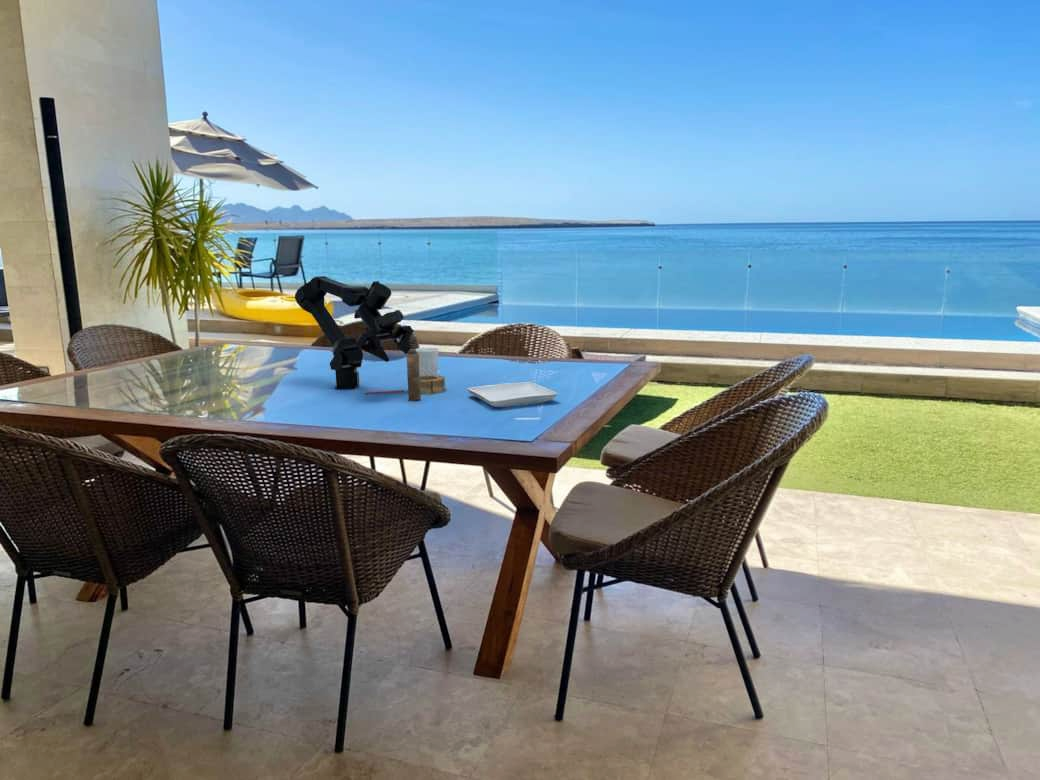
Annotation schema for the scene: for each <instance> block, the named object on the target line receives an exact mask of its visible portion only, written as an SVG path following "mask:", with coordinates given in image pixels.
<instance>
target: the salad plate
mask: <svg viewBox="0 0 1040 780" xmlns="http://www.w3.org/2000/svg"><path fill="white" fill-rule="evenodd" d="M467 391H468V392H469V393H470V394H471V395H472V396H474V397H476V398H478V399H479V400H481V401H483V402H485V403H487V404H488V405H490V406H492V407H495V408H499V407H502V408H511V406H513V407H520V406H519V405H522V406H527V405H526V404H530V405H535V404H534V403H539V404H542V403H541V402H543V403H545V402H549V401H552V400H554V399H555V398H556V397H558V396H559V393H558V392H557V391H554V390H551V389H549V388H547V387H544V386H542V385H539V384H537V383H534V382H531V381H523V382H522V381H520V382H508V383H498V384H489V385H482V386H480V385H479V386H473V387H467Z"/></svg>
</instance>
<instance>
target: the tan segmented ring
mask: <svg viewBox="0 0 1040 780" xmlns="http://www.w3.org/2000/svg"><path fill="white" fill-rule="evenodd" d="M445 390H446V381H445V376H443V375H439V374H438V375H424V376H423V375H420V393H421V395H435V394H441V393H443V391H444V392H445ZM440 392H441V393H440Z"/></svg>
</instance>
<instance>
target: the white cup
mask: <svg viewBox="0 0 1040 780" xmlns="http://www.w3.org/2000/svg"><path fill="white" fill-rule="evenodd" d="M414 349H415V350H416V352H417V353H419V370H420V375H423V376H424V375H439V372H438V371H439V348H437V347H418V348H414Z"/></svg>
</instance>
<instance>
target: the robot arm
mask: <svg viewBox="0 0 1040 780" xmlns="http://www.w3.org/2000/svg"><path fill="white" fill-rule="evenodd" d="M328 294H330V295H332V296H335V297H337V298H340V299H341V301H342V302H343V304H345V305H346V306H348V307H358V308H357V309H355V311H354V317H353V318H354V320H356V319H361V321H362V322H363V324H364V325H365V329H364V330H365V331H363V332H361V335H360V336H359V338H358V339H357V338H355V337H349V338H348V337H347V336H346V335H345V333H344V332H343V331H342V329H341V327H340V326H339V325H338V323H337V322H336V321H335V319H334V318H333V316H332V314H331V313H330V312H329V310H328V309H327V307H326V306H325V296H327V295H328ZM391 296H392V290H391V289H390V288H389V287H388V286H387V285H384V284H382V283H381V282H380V281H379V280H376V281H372V283H371V285H370V287H369V288H368V287H367V286H365V285H364V286H363V285H349V284H345V283H343V282H340V281H338V280H335V279H332V278H329V277H328V276H325V275H321V276H320V275H319V276H314V277H312V278H311V279H310V280H309V281H308V282H306V283H305V284H303V285H301V286H300V287H299V288H297V290H296V291H295V293H294V299H295V302H296V303H297V304H298V306H299V307H300V309H302V311H306V312H307V313H310V314H311V316H312V317H313V319H314V320H315V321H316V323H317V325H318V327H320V329H321V330H322V332H323V334H325V336H326V338H327V339H328V341H329V343H330V344H331V345H332V355H333V358H331V360H330V362H329V367H330V370H331V371H335V383H336V384H335V387H334V389H335V390H354V389H356V388H358V387H359V386H360V372H359V371H358V369H357V368H362V363H363V358H364V353H368V354H371V355H372V356H375V357H376V358H378V359H380V360H382V361H384V362H385V363H388V362H389V361H390V358H389V356H388V354H387V353H386V351H385V349H384V348H383V346H382V344H381V342H387V341H391V340H393V343H395V344H396V347H397V348H398V349H399V350H400V351H402V352H403V354H405V355H406V354H407V353H408V352H409V350H410V349H412V348H411V344H410V338H411V336H412V335H413V333H414V329H413V328H412V326H411V325H402V326H398V328H397V330H396V331H394V332H393V330H395V328H396V326H395V325H397V324H398V323H401V322H402V321H403V320H404V314H403V312H402V311H401V310H400V309H396V310H394V311H391V312H386V313H385V314H383V315H382V314H381V312H380V311H379V310H383V309H384V307H385V305H386V304H387V302H389V301H388V300H389V299H390V297H391Z"/></svg>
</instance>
